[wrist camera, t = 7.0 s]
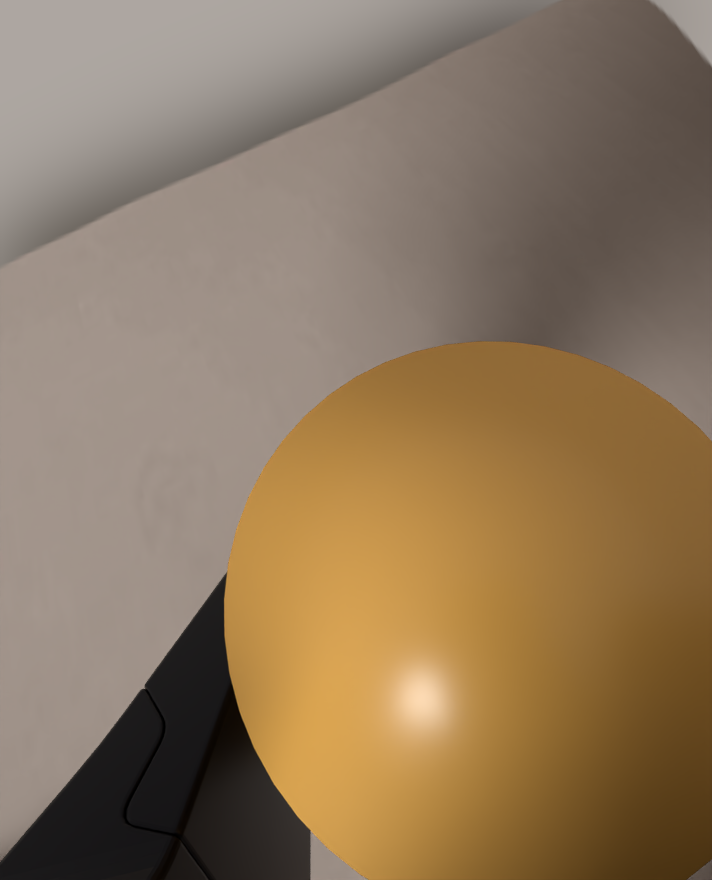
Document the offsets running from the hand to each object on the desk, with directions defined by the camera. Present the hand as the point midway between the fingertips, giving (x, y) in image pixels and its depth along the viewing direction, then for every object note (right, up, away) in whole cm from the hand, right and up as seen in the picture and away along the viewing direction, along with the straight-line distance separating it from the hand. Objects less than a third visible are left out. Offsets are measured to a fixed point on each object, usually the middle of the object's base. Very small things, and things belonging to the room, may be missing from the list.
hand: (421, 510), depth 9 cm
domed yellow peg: (+1, -3, +6) cm, 7 cm away
